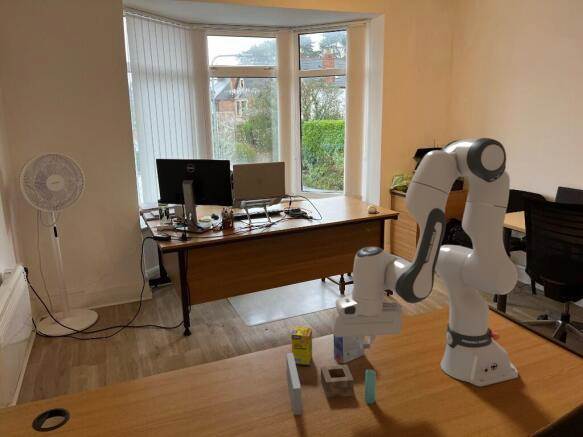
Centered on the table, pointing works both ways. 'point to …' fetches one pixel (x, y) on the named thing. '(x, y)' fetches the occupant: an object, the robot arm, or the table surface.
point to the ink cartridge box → (347, 348)
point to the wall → (293, 384)
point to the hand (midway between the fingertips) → (365, 348)
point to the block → (337, 381)
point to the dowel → (370, 386)
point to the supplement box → (302, 346)
